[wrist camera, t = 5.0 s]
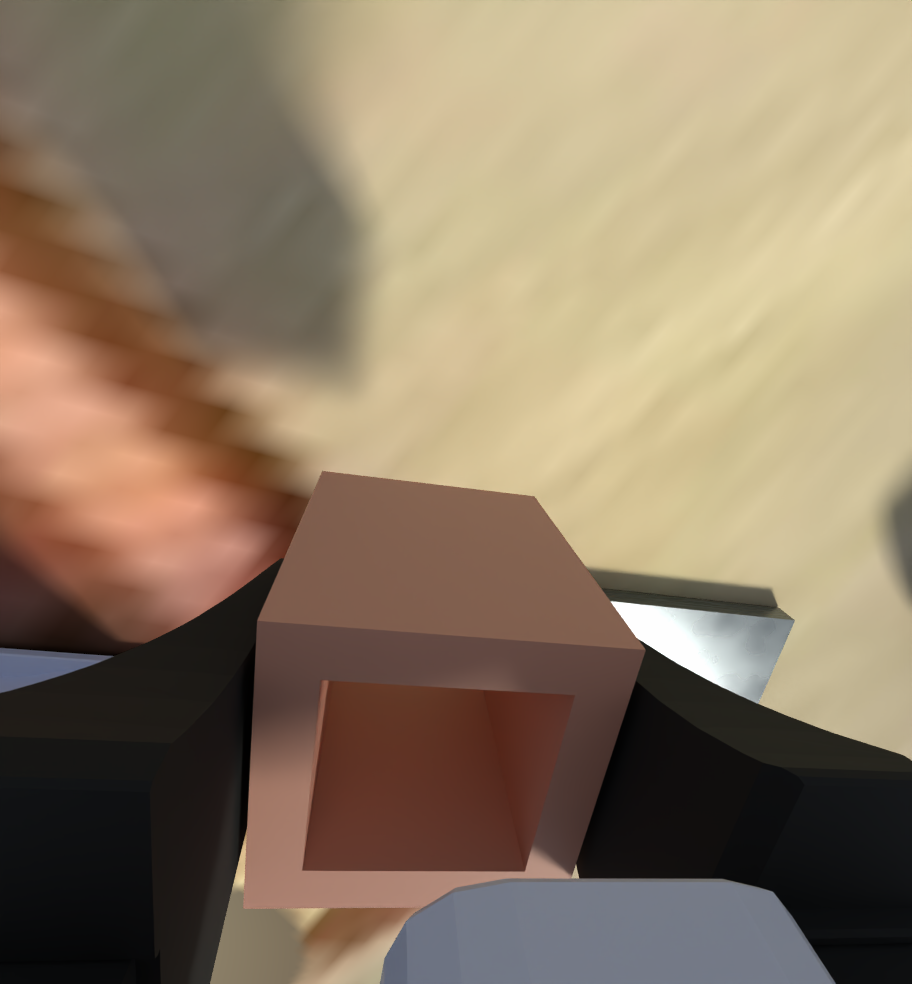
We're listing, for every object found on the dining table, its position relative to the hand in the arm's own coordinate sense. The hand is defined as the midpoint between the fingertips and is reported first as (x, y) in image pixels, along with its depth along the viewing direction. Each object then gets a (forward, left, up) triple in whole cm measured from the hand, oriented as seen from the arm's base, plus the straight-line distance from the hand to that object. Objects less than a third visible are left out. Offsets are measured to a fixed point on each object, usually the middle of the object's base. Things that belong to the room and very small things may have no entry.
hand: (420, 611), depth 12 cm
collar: (0, 0, -1) cm, 1 cm away
